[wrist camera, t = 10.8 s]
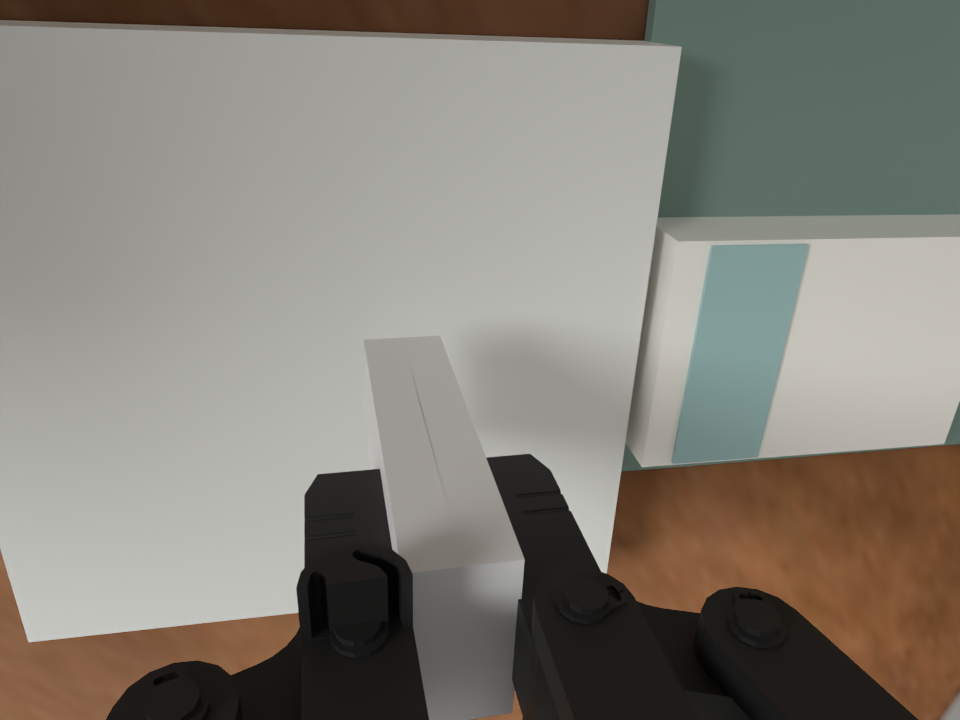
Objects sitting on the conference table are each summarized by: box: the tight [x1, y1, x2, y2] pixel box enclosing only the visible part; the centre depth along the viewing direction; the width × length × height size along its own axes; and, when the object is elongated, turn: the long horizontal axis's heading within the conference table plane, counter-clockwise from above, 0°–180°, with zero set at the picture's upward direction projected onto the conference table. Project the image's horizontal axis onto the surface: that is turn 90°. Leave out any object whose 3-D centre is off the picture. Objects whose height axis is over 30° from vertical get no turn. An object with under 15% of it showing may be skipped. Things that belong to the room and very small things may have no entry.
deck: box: [0, 20, 682, 642], centre depth 18 cm, size 14×15×2 cm
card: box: [625, 214, 960, 467], centre depth 20 cm, size 6×9×2 cm, turn 88°
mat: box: [621, 0, 960, 472], centre depth 20 cm, size 14×15×1 cm
